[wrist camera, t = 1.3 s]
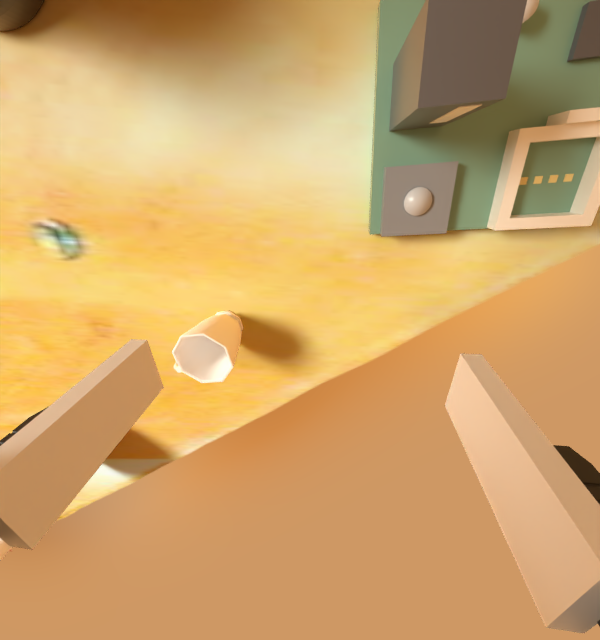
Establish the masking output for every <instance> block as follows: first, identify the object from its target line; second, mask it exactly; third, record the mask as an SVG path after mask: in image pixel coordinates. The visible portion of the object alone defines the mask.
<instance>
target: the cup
mask: <svg viewBox="0 0 600 640" xmlns="http://www.w3.org/2000/svg"><path fill="white" fill-rule="evenodd" d="M243 329H244V328H243V325H242V322H241V318H240V317H239V316H237V315H235V314H234V313H232V312H231V311H222V312H217V313H216V315H214V316H212V317H209V318H207V319H205V320H203V321H202V322H200V323H199V324H198V325H196V326H195V327H193V328H192V329H190V330H189V331H187V332H186V333H184V334H183V335H181V336H180V338H179V340H178V342H177V344H176V346H175V347H174V349H173V351H172V353H173V356H174V358H175V360H176V364H175V365H174V369H175V370H176V371H177V372H178V373H179V372H183V373H185V374H187V375H188V376H190V377H192V378H194V379H195V380H197V381H199V382H201V383H210V382H223V381H224V380H225V378H226V377H227V375H228V374H229V373H230V371H231V370H232V368H233V367H234V364H235V360H236V356H237V353H238V350H239V346H240V343H241V335H242V330H243Z"/></svg>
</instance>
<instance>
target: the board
mask: <svg viewBox="0 0 600 640" xmlns="http://www.w3.org/2000/svg"><path fill="white" fill-rule="evenodd" d="M425 1H426V0H380V3H379V8H378V26H377V50H376V73H375V97H374V121H373V144H372V168H371V192H370V216H369V234H380V224H381V207H382V191H383V174H384V167H394V166H406V165H418V164H430V163H442V162H454V161H459V162H458V168H457V174H456V180H455V185H454V191H453V197H452V203H451V209H450V215H449V221H448V226H447V230H467V229H487V224H488V220H489V216H490V212H491V207H492V203H493V199H494V194H495V190H496V186H497V182H498V177H499V173H500V169H501V165H502V160H503V156H504V152H505V148H506V143H507V139H508V135H509V131H513V130H517V129H522V128H532V127H542V126H546V123H547V120H548V116H550V115H554V114H558V113H561V112H565V111H569V110H576V109H586V108H596V107H600V0H527V4H526V8H525V13H524V17H523V22H522V27H521V31H520V36H519V40H518V45H517V49H516V54H515V58H514V63H513V68H512V72H511V77H510V81H509V86H508V90H507V95H506V99H503V100H501V101H499V102H497V103H494V104H492V105H490V106H488V107H485V108H483V109H481V110H478V111H476V112H474V113H472V114H469V115H467V116H465V117H463V118H460V119H458V120H456V121H454V122H451V123H449V124H447V125H444V126H438V127H428V128H418V129H408V130H398V131H389V124H390V109H391V93H392V78H393V64H394V62H395V60H396V58H397V56H398V54H399V52H400V50H401V48H402V46H403V44H404V42H405V40H406V38H407V36H408V34H409V32H410V30H411V28H412V26H413V24H414V22H415V20H416V18H417V17H418V15H419V13H420V11H421V9H422V7H423V5H424V3H425ZM599 121H600V120H599ZM595 140H596V137H593V138H581V139H570V140H559V141H548V142H537V143H530V145H529V149H528V153H527V157H526V160H525V164H524V168H523V172H522V175H521V177H528V180H527V183H526V185H519V186H518V190H517V194H516V198H515V201H514V205H513V209H512V212H511V215H527V214H545V213H563V212H570V209H571V207H572V204H573V201H574V198H575V196H576V193H577V190H578V187H579V184H580V182H581V179H582V176H583V173H584V171H585V168H586V165H587V162H588V160H589V157H590V154H591V151H592V149H593V146H594V143H595ZM565 174H574V175H573V178H572V181H569V182H563V180H564V177H565ZM550 175H558V178H557V181H556V182H555V183H548V181H549V177H550ZM535 176H543V179H542V182H541V184H533V182H534V178H535Z"/></svg>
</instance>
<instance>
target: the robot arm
mask: <svg viewBox="0 0 600 640" xmlns="http://www.w3.org/2000/svg"><path fill="white" fill-rule="evenodd" d="M43 1H44V0H0V31H8V30H13V29H16V28H19V27H21V26H23V25H25V24H26V23H27V22H29V21H30V20H31V19H32V18H33V17H34V16H35V14H36V13H37V12H38V10H39V9H40V7H41V5H42V3H43ZM163 388H164V387H163V384H162V381H161V378H160V376H159V373H158V370H157V367H156V364H155V361H154V358H153V356H152V353H151V350H150V347H149V344H148V341H147V340H133V339H131V340H130V341H129V342H128V343H126V344H125V345H124V346H123V347H121V348H120V349H119V350H118V351H116V352H115V353H114V354H113V355H112V356H110V357H109V358H108V359H107V360H105V361H104V362H103V363H102V364H101V365H99V366H98V367H97V368H96V369H94V370H93V371H92V372H91V373H89V374H88V375H87V376H86V377H85V378H83V379H82V380H81V381H80V382H78V383H77V384H76V385H75V386H74V387H72V388H71V389H70V390H69V391H67V392H66V393H65V394H64V395H62V396H61V397H60V398H59V399H58V400H56V401H55V402H54V403H53V404H51V405H50V406H49V407H47V408H45V409H43V410H42V411H40V412H38V413H36V414H35V415H33V416H31V417H29V418H28V419H27V420H26V421H24V422H23V423H22V424H21V425H19V426H18V427H17V428H16V429H14V430H13V432H12V433H11V434H10V433H9V434H8V435H7V436H6V437H4V438H3V439H2V440H0V538H1V539H2V540H3V541H4V542H5V543H6V544H7V545H9V546H12V547H19V548H25V549H32V550H33V549H34V548H35V546H36V545H37V544H38V542H39V541H40V540H41V539H42V538H43V536H44V535H45V534H46V532H47V531H48V530H49V529H50V528H51V526H52V525H53V524H54V523H55V521H56V520H57V519H58V518H59V516H60V515H61V514H62V513H63V512H64V510H65V509H66V508H67V507H68V505H69V504H70V503H71V502H72V500H73V499H74V498H75V497H76V495H77V494H78V493H79V492H80V490H81V489H82V488H83V487H84V485H85V484H86V483H87V482H88V481H89V479H90V478H91V477H92V476H93V474H94V473H95V472H96V471H97V469H98V468H99V467H100V466H101V464H102V463H103V462H104V461H105V459H106V458H107V457H108V456H109V454H110V453H111V452H112V451H113V450H114V448H115V447H116V446H117V445H118V443H119V442H120V441H121V440H122V438H123V437H124V436H125V435H126V433H127V432H128V431H129V430H130V428H131V427H132V426H133V425H134V423H135V422H136V421H137V420H138V419H139V417H140V416H141V415H142V414H143V412H144V411H145V410H146V409H147V407H148V406H149V405H150V404H151V402H152V401H153V400H154V399H155V397H156V396H157V395H158V394H159V392H160V391H161V390H162V389H163ZM445 407H446V409H447V411H448V414H449V416H450V418H451V420H452V422H453V425H454V427H455V429H456V431H457V433H458V435H459V438H460V440H461V442H462V444H463V446H464V449H465V451H466V453H467V455H468V457H469V460H470V462H471V464H472V466H473V468H474V471H475V473H476V475H477V477H478V479H479V482H480V484H481V486H482V488H483V490H484V492H485V495H486V497H487V499H488V501H489V504H490V506H491V508H492V510H493V512H494V515H495V517H496V519H497V521H498V523H499V525H500V528H501V530H502V532H503V534H504V537H505V539H506V541H507V543H508V545H509V547H510V550H511V552H512V554H513V556H514V559H515V560H516V563H517V565H518V567H519V570H520V572H521V574H522V576H523V578H524V581H525V583H526V585H527V587H528V589H529V592H530V594H531V596H532V598H533V600H534V603H535V605H536V607H537V609H538V611H539V614H540V616H541V618H542V620H543V622H544V624H545V627H546V628H553V629H559V630H566V631H572V632H579V633H585V632H587V631H588V630H589V629H591V628H592V627H593V626H595V625H596V624H599V626H600V473H599V472H598V471H597V470H596V469H595V468H594V466H593V465H592V464H591V463H589V462H588V461H587V460H586V459H584V458H583V457H582V456H580V455H579V454H578V453H576V452H575V451H574V450H573V449H571V448H570V447H567V446H555V445H552V443H551V442H550V441H549V440H548V438H547V437H546V436H545V434H544V433H543V432H542V431H541V429H540V428H539V427H538V426H537V424H536V423H535V422H534V421H533V419H532V418H531V417H530V415H529V414H528V413H527V411H525V409H524V408H523V406H522V405H521V404H520V403H519V401H518V400H517V399H516V397H515V396H514V395H513V394H512V392H511V391H510V390H509V388H508V387H507V386H506V385H505V383H504V382H503V381H502V380H501V378H500V377H499V376H498V374H497V373H496V372H495V371H494V369H493V368H492V367H491V366H490V364H489V363H488V362H487V360H486V359H485V358H484V357H483V355H481V354H460V357H459V361H458V364H457V367H456V370H455V374H454V377H453V380H452V384H451V387H450V391H449V394H448V397H447V401H446V404H445Z"/></svg>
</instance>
